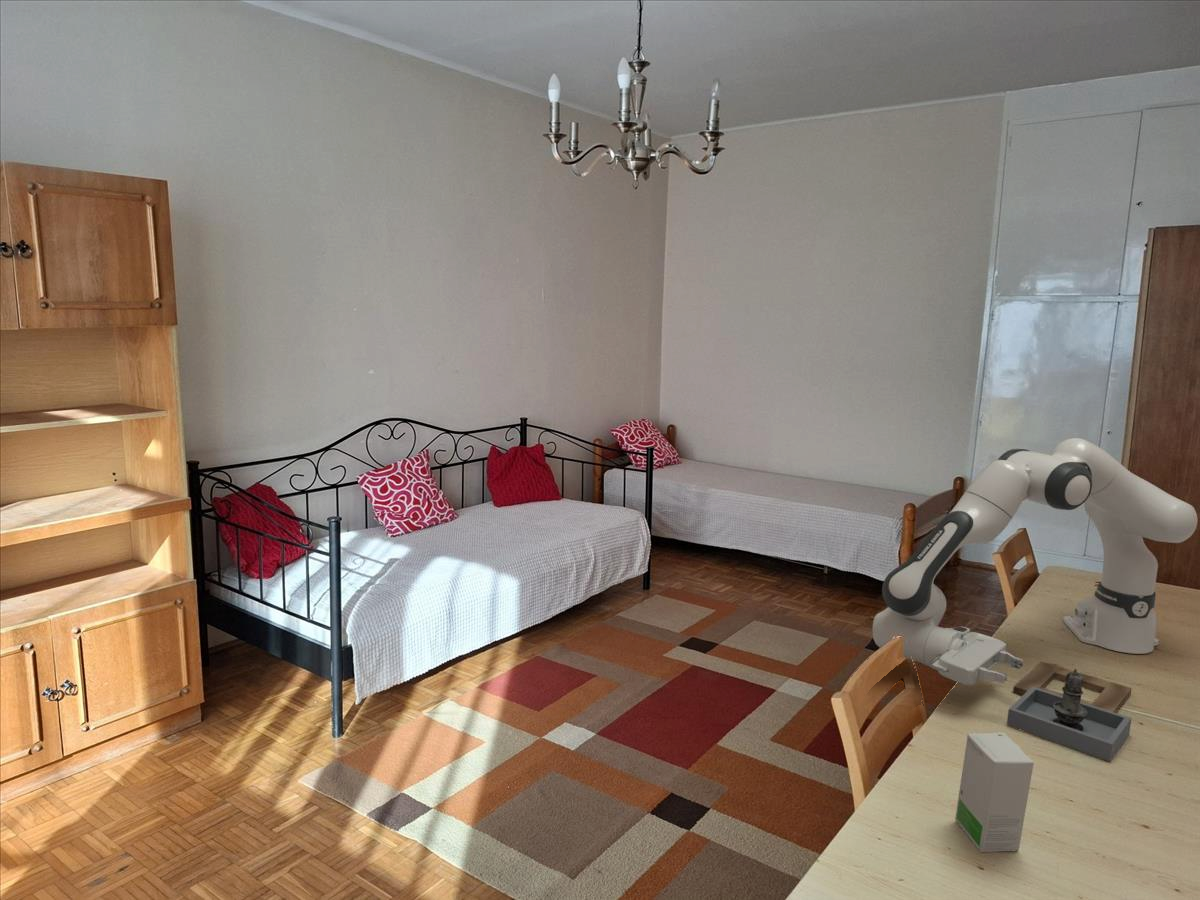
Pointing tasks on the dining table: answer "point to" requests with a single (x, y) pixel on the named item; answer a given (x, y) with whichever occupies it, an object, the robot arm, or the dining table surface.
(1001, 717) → the dining table surface
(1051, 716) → the parts tray
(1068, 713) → the dark piece
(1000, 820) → the skincare box
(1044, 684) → the socket block
